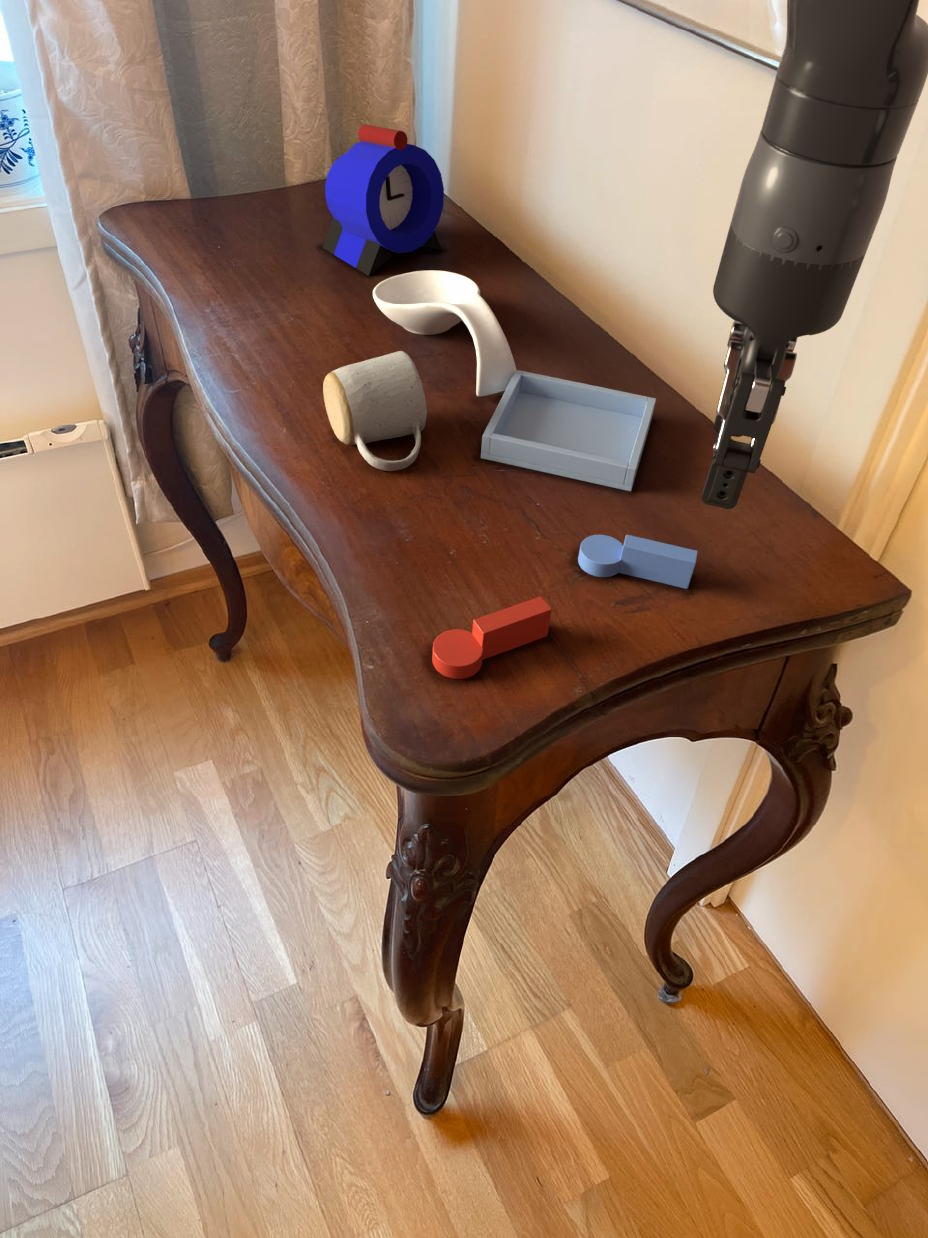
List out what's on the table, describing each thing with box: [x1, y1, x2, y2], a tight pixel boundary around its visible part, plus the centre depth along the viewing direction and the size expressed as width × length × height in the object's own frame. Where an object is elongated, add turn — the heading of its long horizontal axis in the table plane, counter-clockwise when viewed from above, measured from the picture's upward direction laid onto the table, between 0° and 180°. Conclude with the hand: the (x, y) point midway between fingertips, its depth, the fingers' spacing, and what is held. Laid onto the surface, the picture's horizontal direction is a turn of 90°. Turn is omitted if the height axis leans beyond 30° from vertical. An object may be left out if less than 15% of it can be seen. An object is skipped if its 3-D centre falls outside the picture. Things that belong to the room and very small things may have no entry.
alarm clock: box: [322, 124, 445, 277], centre depth 115 cm, size 12×12×15 cm
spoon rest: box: [372, 269, 517, 398], centre depth 101 cm, size 24×12×7 cm, turn 28°
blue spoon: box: [577, 534, 699, 590], centre depth 78 cm, size 10×4×3 cm, turn 73°
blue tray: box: [480, 369, 657, 492], centre depth 91 cm, size 15×13×3 cm
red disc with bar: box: [431, 596, 553, 680], centre depth 71 cm, size 10×4×3 cm, turn 118°
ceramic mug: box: [322, 350, 428, 472], centre depth 87 cm, size 11×8×8 cm
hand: (723, 466), depth 63 cm, fingers open, 8 cm apart
